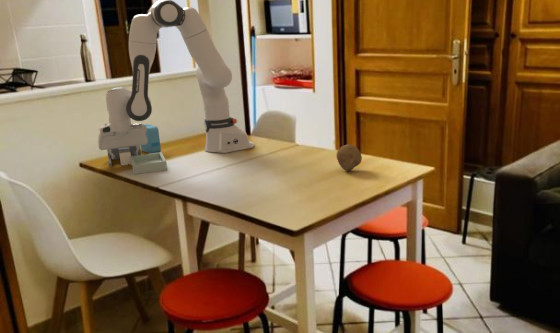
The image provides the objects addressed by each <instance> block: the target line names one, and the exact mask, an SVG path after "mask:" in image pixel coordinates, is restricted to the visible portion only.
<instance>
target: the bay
mask: <svg viewBox="0 0 560 333" xmlns="http://www.w3.org/2000/svg"><path fill="white" fill-rule="evenodd" d="M129 148H130V153H131V156H135V155H134V152H135V151H136V150H137V148H136V146H131V147H129ZM111 150H112V151H111V152H112V154H115V158H116V159H112V155H110V153H109V152H108V150H107V158H108V166H109V168H112V167H113V164H112V161H114V160H115V161H116V160H120V155H119V148H115V149H111ZM141 151H142V149H141V148H140V149H139V151H138V155H142V152H141ZM111 166H112V167H111Z"/></svg>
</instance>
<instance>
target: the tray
mask: <svg viewBox="0 0 560 333" xmlns="http://www.w3.org/2000/svg"><path fill="white" fill-rule="evenodd" d="M130 157H131V164H130V165H131V167H132V170H133V171H132V172H133V174H134V175H139V174H145V173H152V172H159V171H166V170H167V171H168V166H167V165H168V164H167V160H166V158H165V156H164V154H163V152H161V151H160V152H157V153H152V154H151V153H146V154H141V155H137V156H130Z"/></svg>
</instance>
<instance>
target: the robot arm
mask: <svg viewBox="0 0 560 333" xmlns="http://www.w3.org/2000/svg"><path fill="white" fill-rule="evenodd" d="M171 27H175V28H176V29H177V30H178V31H179V32H180V35H181V37H182V40H183V41H184V43H185V46H186V48H187V50H188V53H189V55H190V57H191V58H192V59H193V60H194V62H195V64H196V65H197V66H198V67H197V69H196V71H195V76H196V79H197V82H198V85H199V90H200V95H201V97H202V101H203V103H202V104H203V112H204V130H205V132H206V134H205V147H204V151H205V152H208V153H219V154H226V153H231V152H236V151H241V150H242V151H243V150H248V149H252V148H254V147H255V145H254V142H252V141H251V140H249V136H248V134H247V132H246V131H245V130H243V129H242V128H240V127H239V126H237V125H236V124H237V123H238V120H237V118H233V117H231V116H230V114H231V113H230V105H229V99H228V97H227V94H226V91H225V88H226V87H228V86H229V85H230V83H232V80H233V73H232V71H231V69H230V68H229V67H228V65H227V64H226V62H225V60H224V59H223V57H222V56H221V54H220V52H219V51H218V49H217V48H216V46H215V44H214V42H213V39H212V37H211V35H210V33H209V31H208V28H207V26H206V24H205V22H204V20H203V19H202V16H201V15H200V13H199V12H198V11H197V9H195V8H194V7H190V6H188V7H182V6H181V5H179V4H178V3H177V2H176V1H173V0H157V1H155V2H154V3H153V4H151V6H150V7H149V9H148V10H147V11H146V12H145V14H143V13H141V14H136V15H134V16H133V18H132V19H131V23H130V28H129V35H128V53H129V59H130V63H131V64H130V65H131V68H132V82H131V84H132V85H131V90H130V89H127V88H126V87H124V86H118V87H113V88H110V89H109V90H108V91H106V94H105V95H106V96H105V102H106V109H107V112H108V123H105V124H102V125H100V126H99V128H98V131H99V133H98V136H97V137H98V140H97V141H98V142H97V144H98V149H99V150H100V151H106V150H108V151H107V153H108V152H109V153H110V155H112V159H116V158H115V154H112V152H111V151H112V150H111V149H115V148H123V147H131V146H136V148H137V150H136V151H135V152H134V155H135V156H137V155H138V151H139V149H140V150H141V145H146V144H147V137H146V134H145V133H146V131H147V129H146V126H145V125H146V124H143V123H133V124H132V120H133V121H135V122H144V121H146V120H147V119H149V118H150V117H151V115H152V111H153V108H152V101H151V99H150V97H149V78H150V72H151V68H152V65H153V62H154V60H155V57H156V56H155V55H156V51H157V38H158V37H157V36H158V33H159V31H160V29H162V28H171ZM131 119H132V120H131ZM142 125H144V126H142Z"/></svg>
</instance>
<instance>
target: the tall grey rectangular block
mask: <svg viewBox="0 0 560 333" xmlns="http://www.w3.org/2000/svg"><path fill="white" fill-rule="evenodd" d="M119 155H120V159H119V161H120V166H121V165H122V166H129V165H132V164H131V157H130V156H131V153H130V148H129V147H123V148H119ZM128 164H129V165H128Z"/></svg>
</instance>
